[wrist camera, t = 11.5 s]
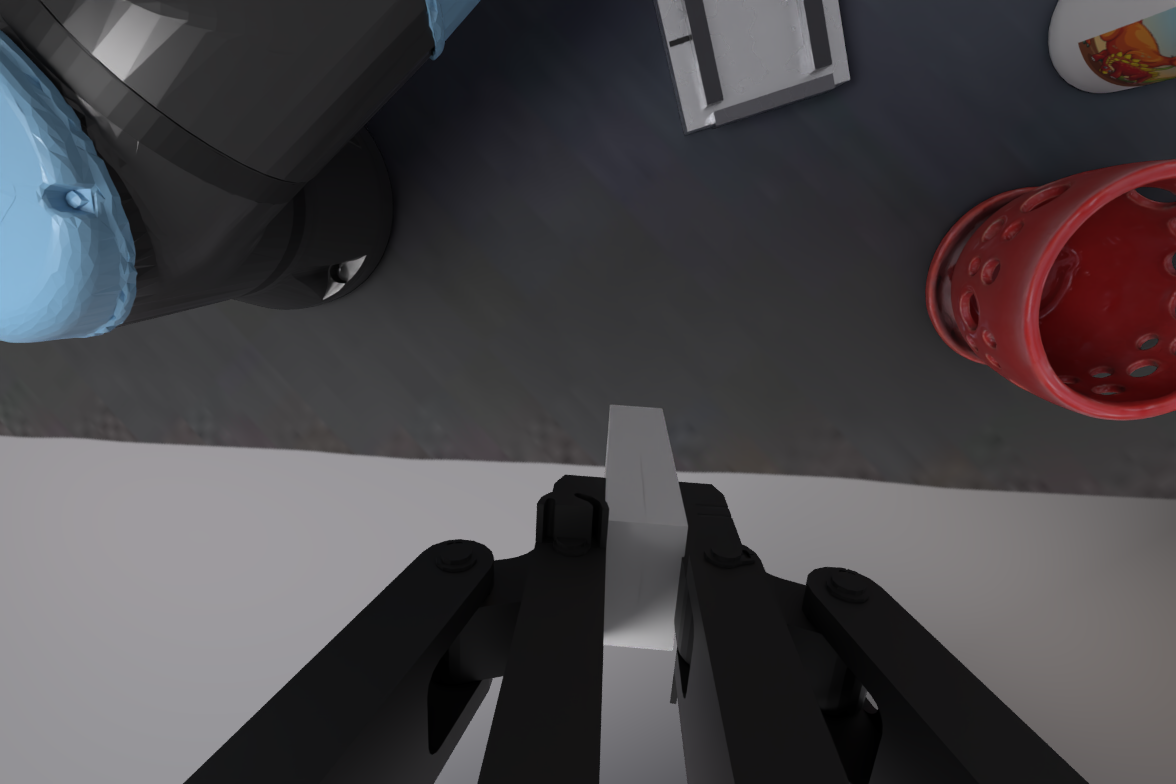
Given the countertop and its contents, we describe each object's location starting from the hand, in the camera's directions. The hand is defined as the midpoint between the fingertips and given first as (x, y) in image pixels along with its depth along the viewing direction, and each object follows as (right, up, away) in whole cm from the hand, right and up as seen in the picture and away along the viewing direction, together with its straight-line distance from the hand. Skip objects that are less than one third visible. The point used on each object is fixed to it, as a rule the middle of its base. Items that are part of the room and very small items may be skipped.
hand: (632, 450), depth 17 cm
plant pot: (+27, +10, +23) cm, 37 cm away
